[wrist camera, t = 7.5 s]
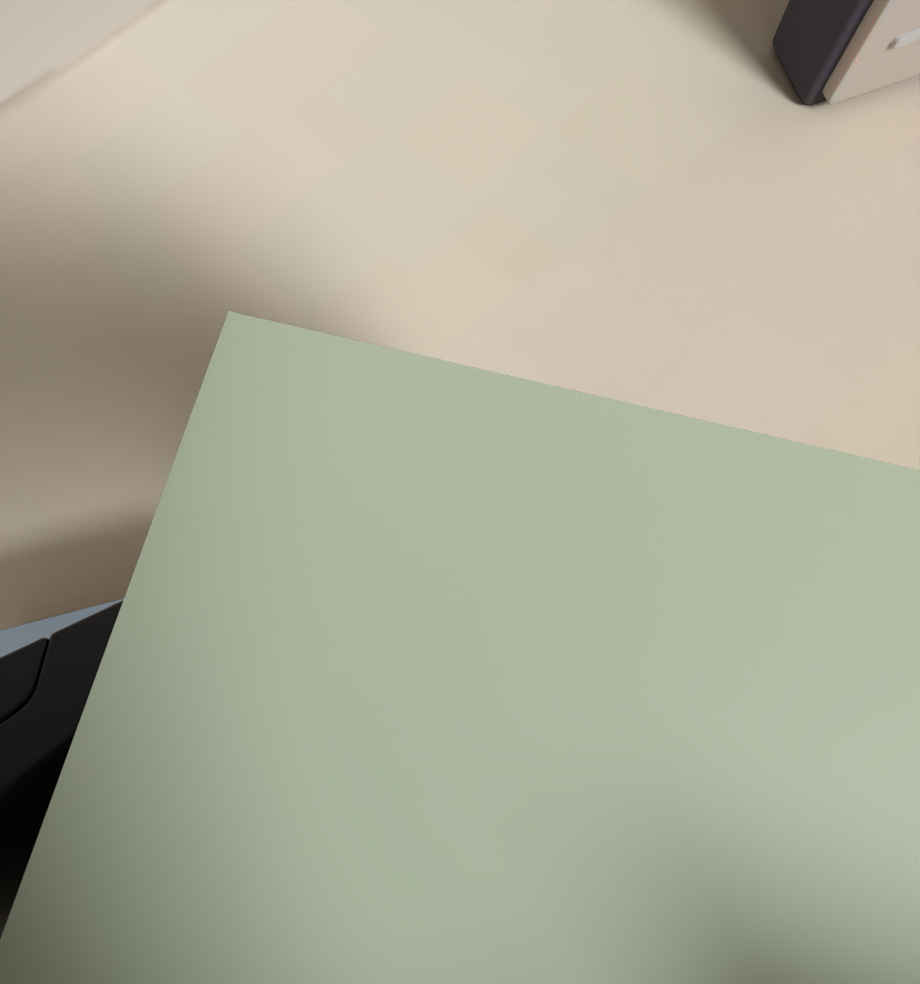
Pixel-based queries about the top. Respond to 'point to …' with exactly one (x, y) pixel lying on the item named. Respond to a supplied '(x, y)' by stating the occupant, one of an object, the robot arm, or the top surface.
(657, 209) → the top surface
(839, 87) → the calculator
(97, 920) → the sage block
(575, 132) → the top surface
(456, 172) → the top surface
